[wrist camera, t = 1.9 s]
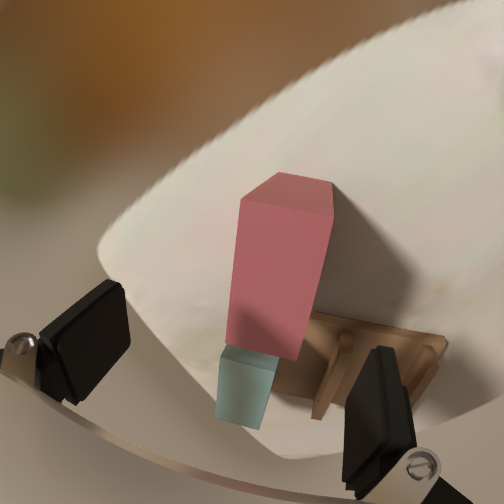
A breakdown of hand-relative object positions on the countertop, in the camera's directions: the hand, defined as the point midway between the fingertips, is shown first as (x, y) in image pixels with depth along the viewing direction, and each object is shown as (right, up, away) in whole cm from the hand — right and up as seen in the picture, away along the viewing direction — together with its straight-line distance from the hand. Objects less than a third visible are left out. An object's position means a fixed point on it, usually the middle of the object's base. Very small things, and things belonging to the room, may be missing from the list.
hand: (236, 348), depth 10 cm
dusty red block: (+4, +5, +13) cm, 14 cm away
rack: (+8, -7, +16) cm, 20 cm away
